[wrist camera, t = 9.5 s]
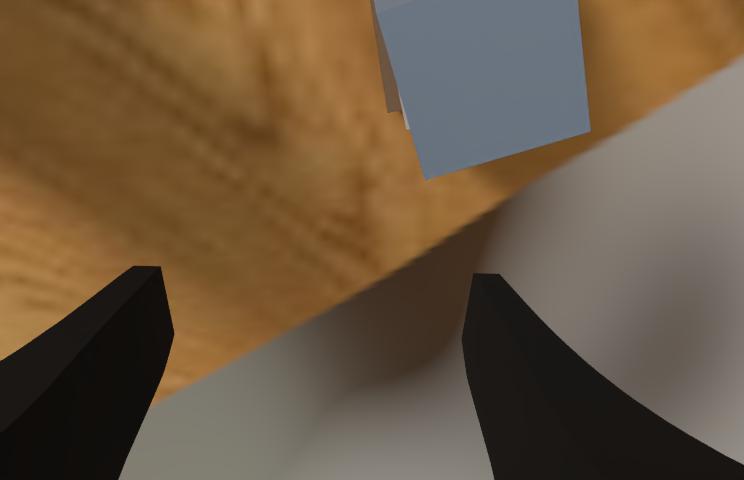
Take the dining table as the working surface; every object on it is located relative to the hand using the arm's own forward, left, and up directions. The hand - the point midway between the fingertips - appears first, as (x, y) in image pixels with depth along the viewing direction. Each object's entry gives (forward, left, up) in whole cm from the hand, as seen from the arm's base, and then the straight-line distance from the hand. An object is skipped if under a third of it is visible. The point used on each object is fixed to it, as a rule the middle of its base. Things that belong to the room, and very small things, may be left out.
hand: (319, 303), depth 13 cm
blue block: (+5, +4, -6) cm, 9 cm away
